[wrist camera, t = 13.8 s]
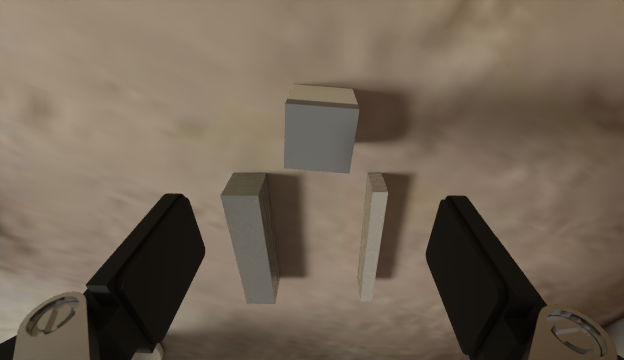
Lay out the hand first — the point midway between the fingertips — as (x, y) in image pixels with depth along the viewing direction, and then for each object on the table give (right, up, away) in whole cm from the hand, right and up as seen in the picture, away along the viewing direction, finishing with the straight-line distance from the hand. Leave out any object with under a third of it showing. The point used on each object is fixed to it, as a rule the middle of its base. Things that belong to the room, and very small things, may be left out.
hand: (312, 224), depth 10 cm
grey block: (+1, +7, +11) cm, 13 cm away
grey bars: (+1, -4, +17) cm, 18 cm away
